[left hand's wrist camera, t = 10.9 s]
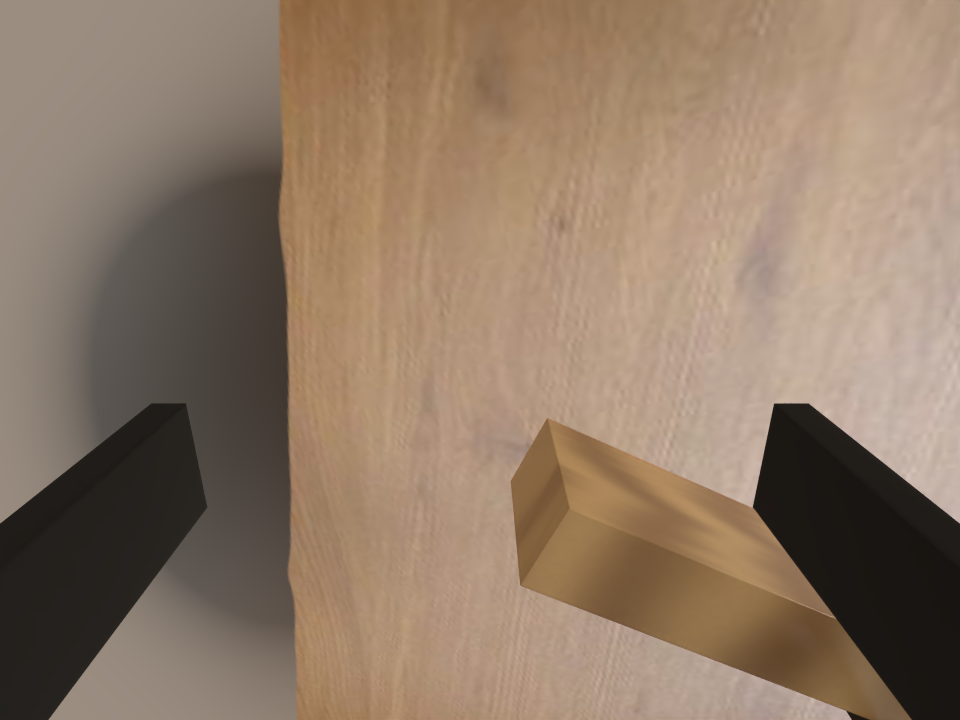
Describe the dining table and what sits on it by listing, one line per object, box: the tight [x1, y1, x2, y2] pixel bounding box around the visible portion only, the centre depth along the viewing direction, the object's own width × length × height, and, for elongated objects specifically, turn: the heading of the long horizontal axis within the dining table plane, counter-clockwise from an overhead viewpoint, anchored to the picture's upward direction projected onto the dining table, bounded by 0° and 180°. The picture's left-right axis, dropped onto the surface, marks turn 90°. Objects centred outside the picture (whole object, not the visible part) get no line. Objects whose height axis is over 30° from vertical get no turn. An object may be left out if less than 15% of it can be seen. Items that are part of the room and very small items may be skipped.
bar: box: [511, 418, 912, 720], centre depth 30 cm, size 25×4×8 cm, turn 64°
